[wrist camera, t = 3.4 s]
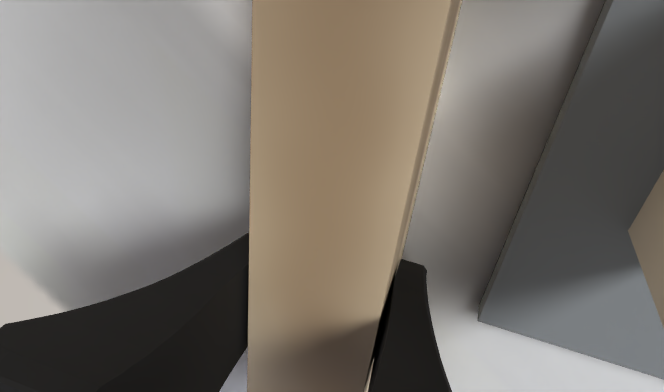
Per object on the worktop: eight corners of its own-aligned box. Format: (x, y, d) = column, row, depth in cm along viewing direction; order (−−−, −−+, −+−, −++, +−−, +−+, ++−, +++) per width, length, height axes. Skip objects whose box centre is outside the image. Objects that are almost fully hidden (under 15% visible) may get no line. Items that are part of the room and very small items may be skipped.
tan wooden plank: (294, 354, 18) (246, 455, 15) (345, -198, 9) (255, -256, 6) (372, 380, 17) (340, 492, 14) (505, -185, 9) (504, -241, 5)
